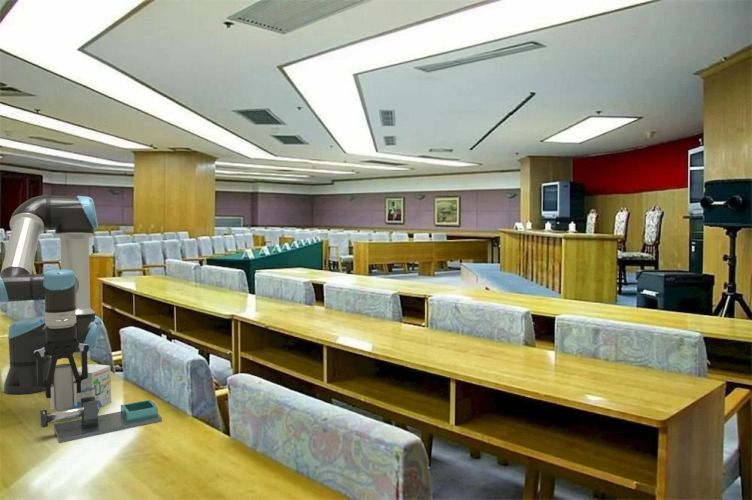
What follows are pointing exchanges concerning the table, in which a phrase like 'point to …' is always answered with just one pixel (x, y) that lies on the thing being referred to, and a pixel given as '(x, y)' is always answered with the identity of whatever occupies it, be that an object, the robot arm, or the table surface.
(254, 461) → the table surface
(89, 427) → the bolt fixture plate
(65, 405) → the beverage can
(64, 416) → the shaft
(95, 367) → the ink box
